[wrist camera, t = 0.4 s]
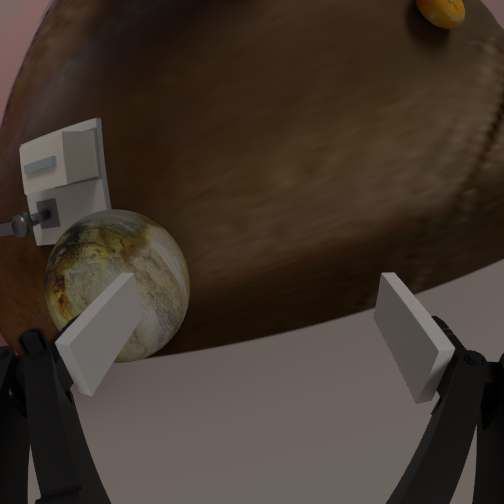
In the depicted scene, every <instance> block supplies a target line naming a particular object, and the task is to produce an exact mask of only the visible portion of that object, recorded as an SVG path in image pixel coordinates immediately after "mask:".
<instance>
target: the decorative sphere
mask: <svg viewBox="0 0 504 504" xmlns="http://www.w3.org/2000/svg"><path fill="white" fill-rule="evenodd" d="M121 273H134V275H135V281H136V286H137V291H138V296H139V301H140V305H141V310H142V314H143V317H142V319H141V320H140V322H139V323H138V325H137V326H136V328H135V329H134V331H133V332H132V334H131V335H130V337H129V338H128V340H127V341H126V343H125V344H124V346H123V348H122V349H121V351H120V352H119V354H118V355H117V357H116V359H115V360H114V362H116V363H122V362H131V361H136V360H139V359H142V358H145V357H147V356H149V355H151V354H153V353H155V352H156V351H158V350H159V349H161V348H162V347H163V346H164V345H165V344H166V343H168V342H169V341H170V340H171V338H172V337H173V336H174V335H175V333H176V332H177V330H178V329H179V327H180V325H181V324H182V322H183V319H184V317H185V314H186V311H187V308H188V303H189V297H190V279H189V273H188V268H187V264H186V261H185V259H184V256H183V254H182V252H181V250H180V248H179V246H178V245H177V243H176V242H175V240H174V239H173V238H172V236H171V235H170V234H169V233H168V232H167V231H166V230H165V229H164V228H163V227H162V226H160V225H159V224H158V223H156V222H155V221H153V220H152V219H150V218H148V217H146V216H144V215H141V214H139V213H136V212H132V211H127V210H116V209H113V210H104V211H99V212H95V213H92V214H90V215H87V216H85V217H83V218H81V219H80V220H78V221H77V222H75V223H74V224H73V225H71V226H70V227H69V228H68V229H67V230H66V231H65V232H64V233H63V234H62V235H61V237H60V238H59V239H58V241H57V242H56V244H55V246H54V247H53V249H52V251H51V254H50V256H49V259H48V262H47V266H46V271H45V280H44V288H45V297H46V302H47V306H48V309H49V312H50V315H51V317H52V319H53V321H54V323H55V325H56V327H57V328H58V330H59V331H61V329H62V328H63V327H64V326H66V324H67V323H68V322H69V321H70V320H71V319H72V318H74V317H75V316H77V315H79V314H82V313H83V312H84V310H85V309H86V308H87V307H88V306H89V305H90V304H91V303H92V302H93V301H94V300H95V299H96V298H97V297H98V296H99V295H100V294H101V293H102V292H103V291H104V290H105V289H106V288H107V287H108V286H109V285H110V284H111V283H112V282H113V281H114V280H115V279H116V278H117V277H118V276H119V275H120V274H121Z"/></svg>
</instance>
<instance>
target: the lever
mask: <svg viewBox="0 0 504 504" xmlns="http://www.w3.org/2000/svg"><path fill="white" fill-rule="evenodd" d="M50 216H51V214H50V211H49V210H48V209H44V210H41V211H39V212H36V213H34V214H31V215H29V214H28V213H26V212H23V213H21V214H18V215H16V216H14V217H13V219H12V220H10V221H5V222H1V223H0V236H6V235H12V234H15V235H16V236H17V237H18V238H23V237H24V236H26V235H28V234H30V233H31V232H32V231H33V227H34V226H36V225H38V224H40V223H42V222H45V221H47V220H49V219H50Z"/></svg>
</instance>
